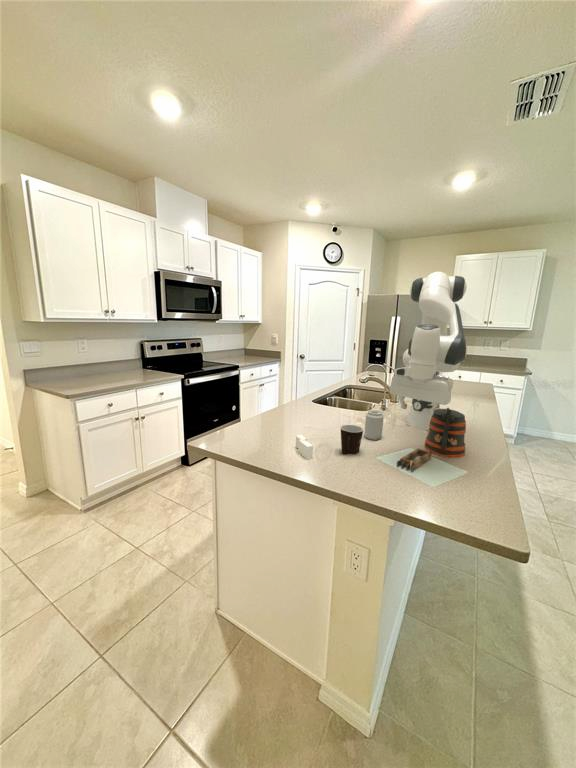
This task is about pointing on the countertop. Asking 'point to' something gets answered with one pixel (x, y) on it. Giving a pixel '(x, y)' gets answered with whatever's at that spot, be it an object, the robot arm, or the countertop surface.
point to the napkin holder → (304, 447)
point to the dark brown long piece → (414, 459)
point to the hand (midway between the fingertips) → (416, 411)
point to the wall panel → (425, 468)
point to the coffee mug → (351, 439)
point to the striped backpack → (446, 433)
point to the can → (374, 425)
